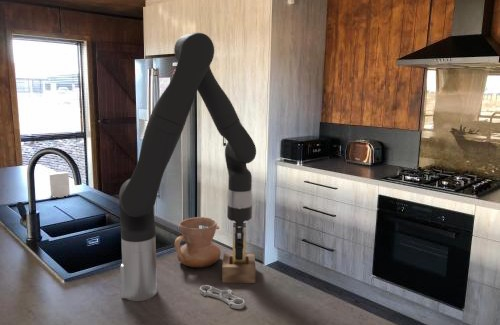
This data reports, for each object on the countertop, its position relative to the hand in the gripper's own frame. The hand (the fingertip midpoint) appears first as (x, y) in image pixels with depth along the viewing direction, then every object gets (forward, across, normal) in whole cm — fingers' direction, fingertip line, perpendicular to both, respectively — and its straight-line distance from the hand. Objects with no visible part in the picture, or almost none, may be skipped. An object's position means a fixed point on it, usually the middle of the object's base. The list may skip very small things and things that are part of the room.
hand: (238, 256), depth 128 cm
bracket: (+7, +14, -4) cm, 17 cm away
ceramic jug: (+7, -9, -14) cm, 18 cm away
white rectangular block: (+7, -92, -95) cm, 132 cm away
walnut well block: (+6, 0, 0) cm, 6 cm away
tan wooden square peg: (+5, 0, 0) cm, 5 cm away
